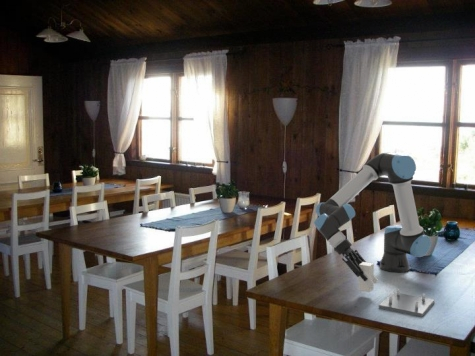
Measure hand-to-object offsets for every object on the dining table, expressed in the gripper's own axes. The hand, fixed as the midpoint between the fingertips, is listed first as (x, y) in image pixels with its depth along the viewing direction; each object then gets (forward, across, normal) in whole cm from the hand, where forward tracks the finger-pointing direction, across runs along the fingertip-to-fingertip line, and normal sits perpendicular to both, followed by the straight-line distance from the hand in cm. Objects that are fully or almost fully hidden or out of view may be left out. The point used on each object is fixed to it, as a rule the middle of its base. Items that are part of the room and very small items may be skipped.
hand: (374, 284), depth 241 cm
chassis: (+15, +2, +6) cm, 17 cm away
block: (0, 0, -5) cm, 5 cm away
